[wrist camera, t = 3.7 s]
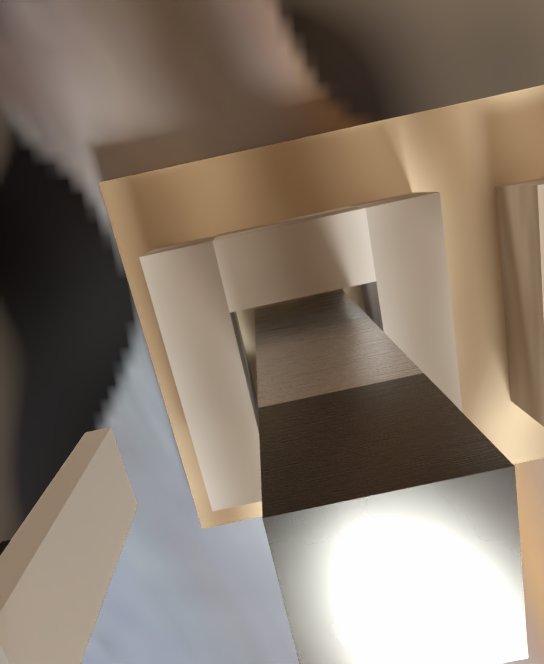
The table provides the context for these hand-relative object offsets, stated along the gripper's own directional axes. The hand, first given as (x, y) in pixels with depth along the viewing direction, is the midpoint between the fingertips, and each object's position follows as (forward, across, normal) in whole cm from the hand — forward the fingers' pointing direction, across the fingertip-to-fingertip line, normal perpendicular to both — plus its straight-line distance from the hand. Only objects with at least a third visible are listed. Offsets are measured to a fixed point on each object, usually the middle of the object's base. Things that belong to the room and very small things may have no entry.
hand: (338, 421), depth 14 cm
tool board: (+9, +7, 0) cm, 12 cm away
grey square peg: (+8, 0, 0) cm, 8 cm away
